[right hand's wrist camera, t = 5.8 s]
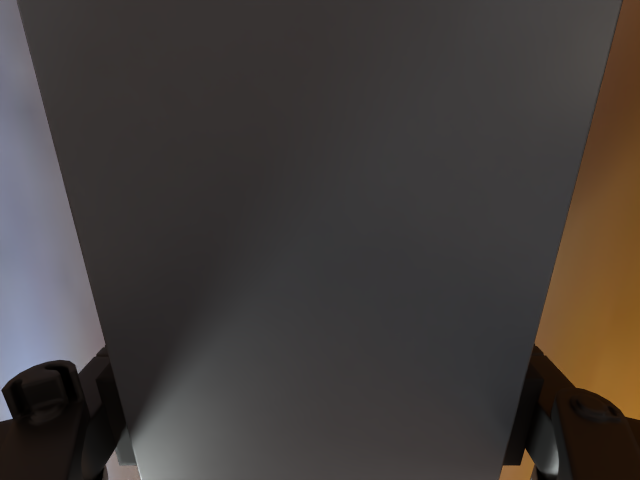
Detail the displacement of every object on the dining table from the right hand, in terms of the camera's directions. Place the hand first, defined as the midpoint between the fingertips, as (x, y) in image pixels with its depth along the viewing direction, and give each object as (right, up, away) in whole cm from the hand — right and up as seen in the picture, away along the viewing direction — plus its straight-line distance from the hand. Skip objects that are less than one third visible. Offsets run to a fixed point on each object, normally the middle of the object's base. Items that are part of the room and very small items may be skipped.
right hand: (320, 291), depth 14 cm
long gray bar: (0, +19, -7) cm, 20 cm away
